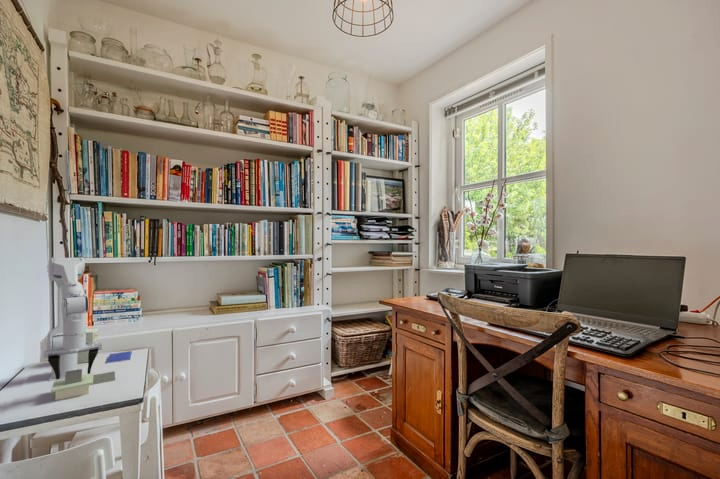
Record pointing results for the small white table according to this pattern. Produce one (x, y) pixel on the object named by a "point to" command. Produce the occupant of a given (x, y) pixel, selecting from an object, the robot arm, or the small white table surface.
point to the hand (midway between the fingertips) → (73, 375)
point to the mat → (103, 377)
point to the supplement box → (90, 339)
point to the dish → (72, 392)
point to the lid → (72, 380)
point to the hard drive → (119, 357)
